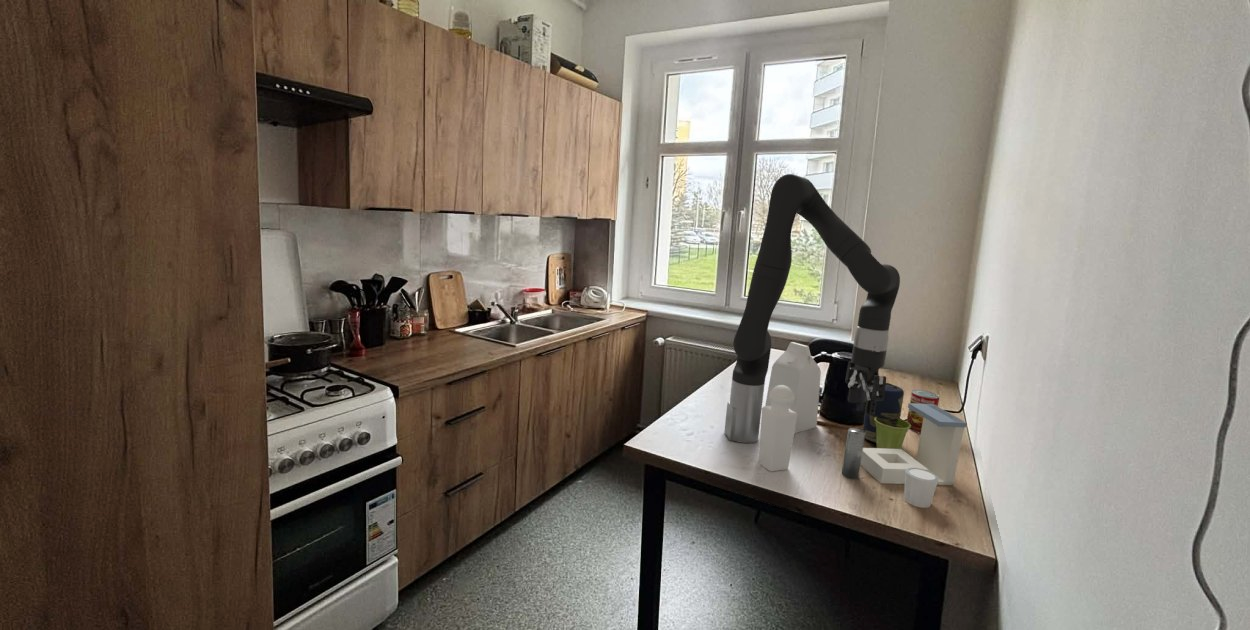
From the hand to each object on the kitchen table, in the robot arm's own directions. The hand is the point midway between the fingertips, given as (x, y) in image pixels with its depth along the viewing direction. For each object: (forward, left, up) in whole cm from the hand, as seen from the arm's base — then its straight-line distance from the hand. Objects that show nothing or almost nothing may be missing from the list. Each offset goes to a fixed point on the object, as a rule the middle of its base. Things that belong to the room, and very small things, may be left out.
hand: (860, 408), depth 134 cm
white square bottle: (-19, +4, -18) cm, 27 cm away
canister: (+20, +23, -18) cm, 35 cm away
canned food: (+40, +33, -18) cm, 55 cm away
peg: (0, 0, -18) cm, 18 cm away
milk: (-3, +34, -18) cm, 39 cm away
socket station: (+15, +2, -18) cm, 24 cm away
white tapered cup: (+10, -12, -18) cm, 24 cm away
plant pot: (+19, +16, -18) cm, 31 cm away
